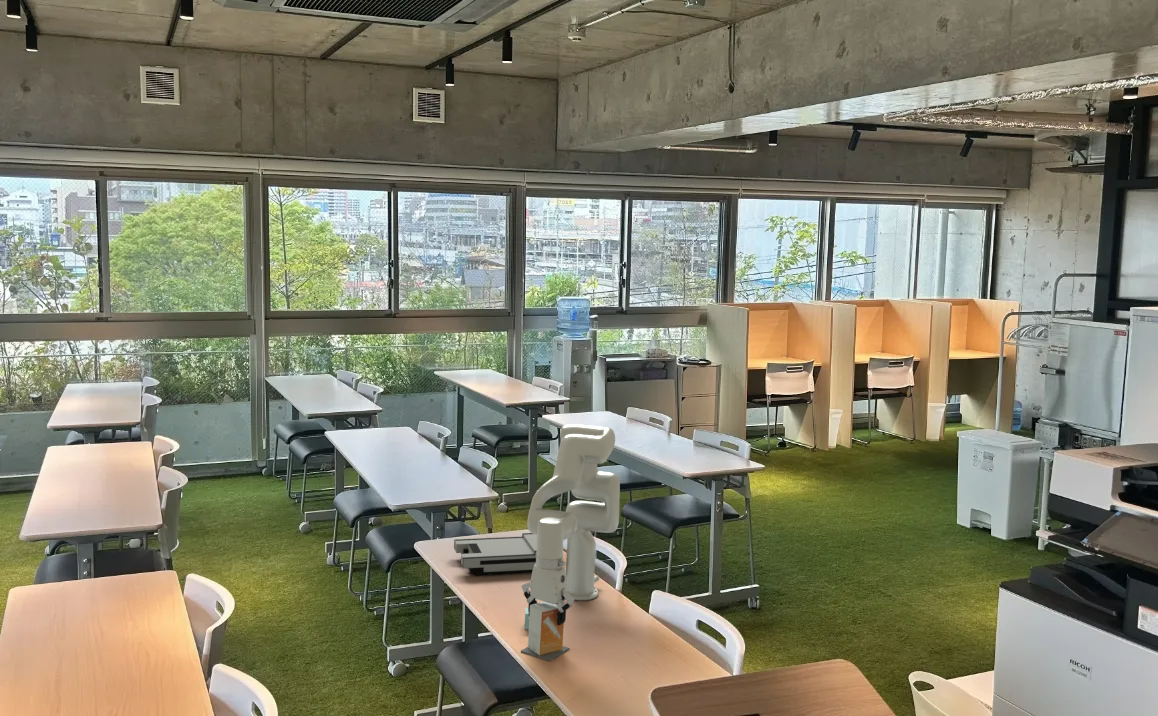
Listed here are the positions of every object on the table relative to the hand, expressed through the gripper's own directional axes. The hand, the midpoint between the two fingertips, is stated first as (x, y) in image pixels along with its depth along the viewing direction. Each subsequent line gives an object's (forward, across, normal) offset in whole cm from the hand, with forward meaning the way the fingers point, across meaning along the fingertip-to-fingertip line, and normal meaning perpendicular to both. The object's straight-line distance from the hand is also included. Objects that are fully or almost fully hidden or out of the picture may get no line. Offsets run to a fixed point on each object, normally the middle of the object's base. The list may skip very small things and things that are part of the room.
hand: (546, 619), depth 273 cm
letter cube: (+9, +12, -12) cm, 20 cm away
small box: (+9, 0, 0) cm, 9 cm away
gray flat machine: (+10, +51, -50) cm, 72 cm away
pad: (+9, 0, 0) cm, 9 cm away
